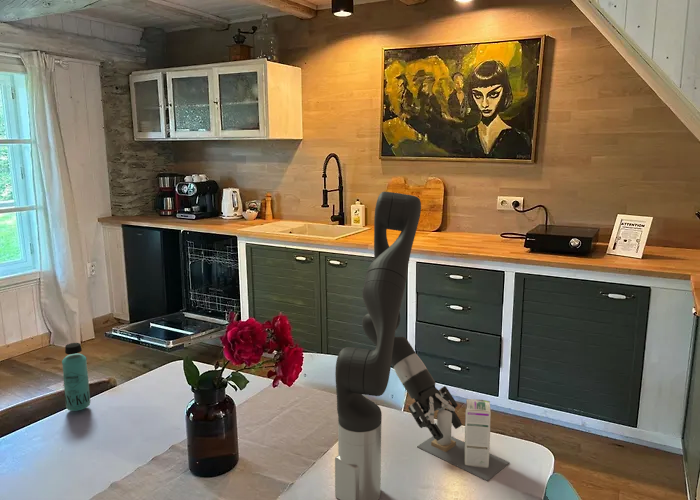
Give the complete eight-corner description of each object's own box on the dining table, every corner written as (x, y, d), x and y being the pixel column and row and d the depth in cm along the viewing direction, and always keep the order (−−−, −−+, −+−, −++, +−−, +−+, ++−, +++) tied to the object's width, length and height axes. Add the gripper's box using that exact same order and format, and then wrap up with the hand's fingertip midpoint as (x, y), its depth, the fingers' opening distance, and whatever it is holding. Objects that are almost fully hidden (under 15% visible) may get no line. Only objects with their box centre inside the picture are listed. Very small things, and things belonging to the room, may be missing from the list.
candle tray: (487, 481, 124) (489, 445, 122) (417, 447, 138) (417, 414, 136) (509, 463, 131) (511, 428, 129) (440, 432, 145) (441, 401, 143)
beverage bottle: (66, 407, 158) (59, 342, 154) (92, 403, 161) (85, 338, 157) (65, 418, 152) (58, 350, 148) (92, 413, 155) (85, 346, 151)
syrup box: (489, 468, 128) (492, 411, 125) (463, 465, 129) (466, 409, 127) (488, 455, 134) (491, 400, 131) (463, 452, 135) (465, 397, 132)
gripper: (404, 377, 134) (442, 438, 129) (439, 361, 144) (475, 416, 139) (388, 390, 139) (423, 449, 133) (422, 373, 149) (456, 428, 143)
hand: (449, 432), depth 136 cm, fingers open, 7 cm apart
